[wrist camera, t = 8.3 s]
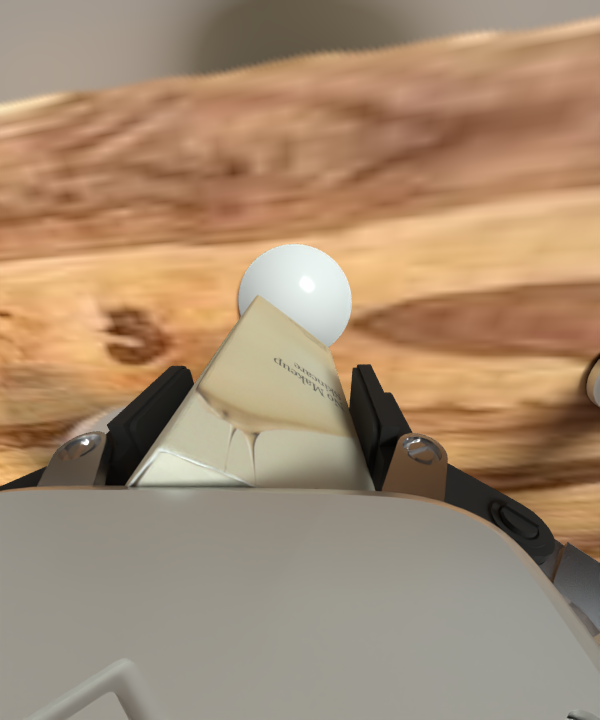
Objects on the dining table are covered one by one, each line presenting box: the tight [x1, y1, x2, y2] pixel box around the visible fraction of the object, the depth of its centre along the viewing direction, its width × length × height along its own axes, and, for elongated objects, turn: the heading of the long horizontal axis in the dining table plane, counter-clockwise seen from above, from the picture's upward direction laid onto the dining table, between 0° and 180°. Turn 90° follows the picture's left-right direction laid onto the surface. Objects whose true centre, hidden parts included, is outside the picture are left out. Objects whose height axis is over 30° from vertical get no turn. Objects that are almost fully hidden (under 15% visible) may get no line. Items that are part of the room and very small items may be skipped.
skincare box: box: [125, 295, 375, 491], centre depth 11 cm, size 6×4×12 cm
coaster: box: [238, 244, 352, 347], centre depth 26 cm, size 12×12×1 cm
